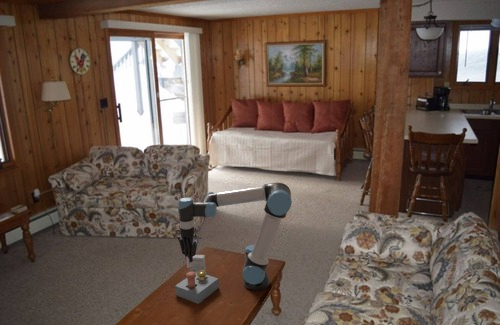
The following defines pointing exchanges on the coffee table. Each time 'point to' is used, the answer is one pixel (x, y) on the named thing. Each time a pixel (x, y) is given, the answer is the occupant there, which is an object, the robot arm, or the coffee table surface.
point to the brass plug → (202, 275)
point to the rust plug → (191, 279)
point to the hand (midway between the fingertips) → (189, 266)
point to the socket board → (197, 289)
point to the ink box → (198, 263)
